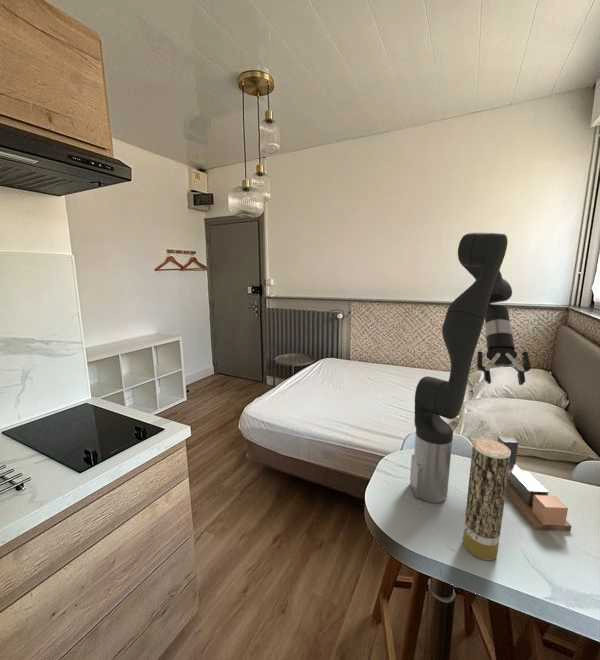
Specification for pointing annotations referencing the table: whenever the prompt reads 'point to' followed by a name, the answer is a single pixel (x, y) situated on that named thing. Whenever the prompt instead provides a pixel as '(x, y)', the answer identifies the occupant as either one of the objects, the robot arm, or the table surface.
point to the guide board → (529, 515)
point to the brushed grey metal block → (514, 458)
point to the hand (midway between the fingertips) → (505, 383)
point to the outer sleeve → (525, 485)
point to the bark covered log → (486, 497)
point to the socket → (549, 510)
